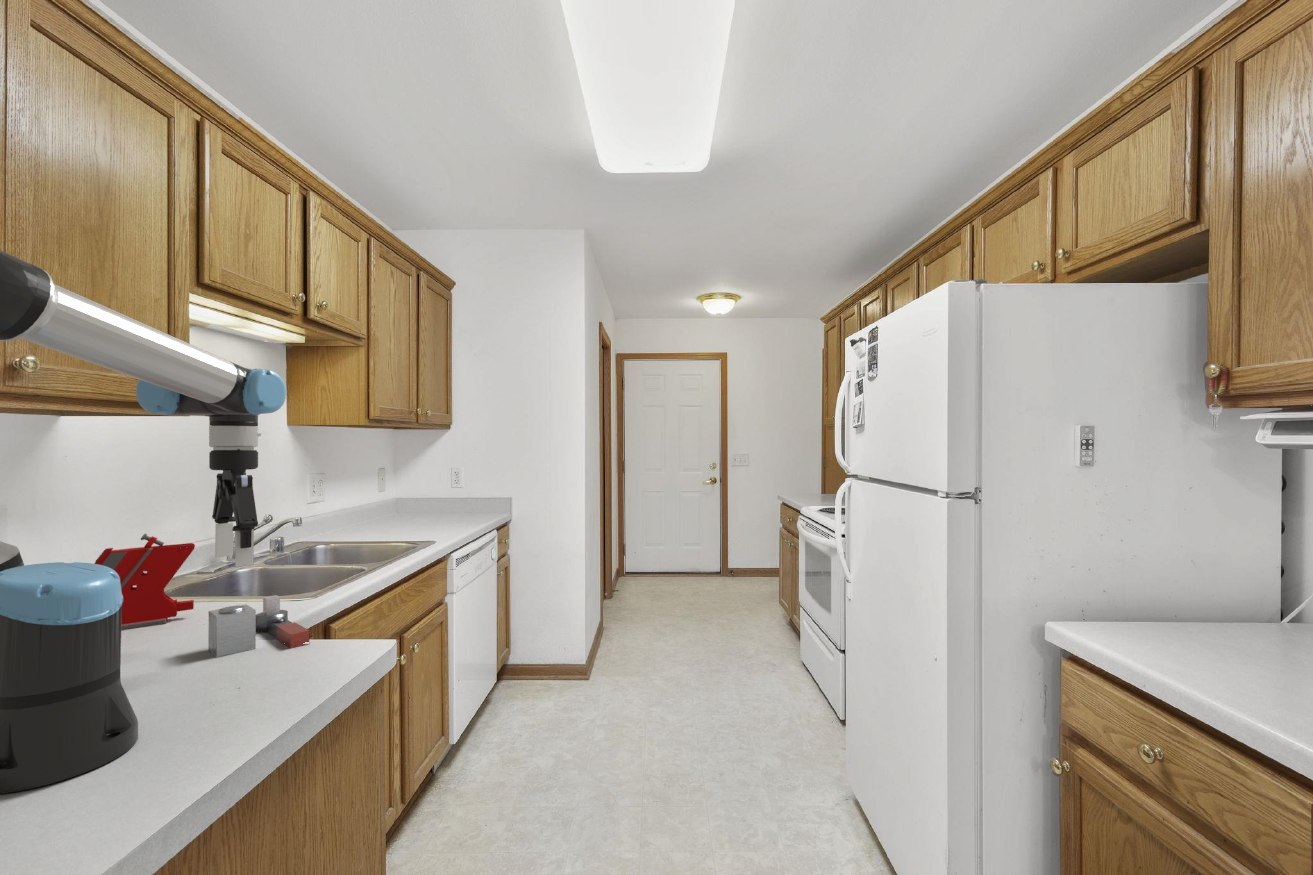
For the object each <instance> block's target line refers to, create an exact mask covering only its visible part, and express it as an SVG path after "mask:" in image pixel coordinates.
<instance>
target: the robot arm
mask: <svg viewBox="0 0 1313 875" xmlns="http://www.w3.org/2000/svg"><path fill="white" fill-rule="evenodd" d="M18 339H21V340H24V341H26V342H29V343H32V344H35V345H38V346H41V347H44V348H47V349H50V350H53V351H56V352H59V353H60V354H61V353H62V354H65V355H67V356H70V357H74V358H76V359H79V360H82V361H84V362H87V363H90V364H93V365H96V366H99V367H101V368H105V369H108V370H111V371H113V372H116V373H120V374H123V375H126V376H128V377H131V378H134V379H137V380H138V381H137V384H136V387H135V389H136V395H135V396H136V400H137V402H138V404H139V405H140V406H141V408H142V409H143V410H145V411H146V412H147V413H150V414H154V415H155V414H158V415H164V416H189V417H191V416H192V417H195V416H196V417H208V420H209V421H208V422H209V425H208V446H209V447H210V448H212V450H210V452H208V453H209V454H208V455H209V456H208V457H209V462H208V463H209V464H208V466H209V467H208V468H209V470H211V471H222V473H217V474H216V486H215V488H216V489H215V495H214V501H213V502H214V503H213V509H212V516H211V517H212V520H214V523H215V543H214V544H215V551H214V552H215V554H214V555H215V556H214V557H215V558H224V557H231V556H234V568H238V567H241V568H242V567H246V566H247V567H248V566H253V565H254V554H255V553H254V551H255V550H254V542H255V541H254V533H255V532H254V531H255V530H254V529H255V528H256V527H258V525H259V522H258V515H257V509H256V501H255V495H254V494H255V493H254V484H253V483H254V482H253V479H254V477H253V475H252V474H247V473H246V471H247V470H256V469H257V468H258V467H259V451H258V450H257V449H255V448H257V447H258V446H259V445H258V444H259V437H261V436H262V432H260V431H259V416H260V415H262V414H265V415H266V414H272V413H276V412H277V411H279V410H280V409H281V408H282V407H283V406H284V405H285V401H286V398H287V397H286V396H287V387H286V384H285V381H284V379H283V378H282V377H281V376H280V375H279V374H278V373H277V372H276V371H273V370H270V369H262V368H256V367H255V368H253V369H252V368H249V367H244V366H241V365H239V364H237V363H234V362H232V361H230V360H227V359H225V358H224V357H220V356H218V355H216V354H214V353H211V352H210V351H207V350H204V349H202V348H200V347H198V346H196V345H194V344H191V343H188V342H186V341H184V340H182V339H180V338H178V337H175V336H173V335H171V334H169V333H166V332H164V331H161V330H159V329H158V328H155V327H153V326H150V325H148V324H146V323H143V322H141V321H139V320H136V319H134V318H132V317H130V316H128V315H126V314H123V313H120V312H119V311H117V310H114V309H112V308H109V307H108V306H105V305H103V304H101V303H99V302H96V301H93V300H91V299H89V298H87V297H85V296H82V295H80V294H78V293H76V292H73V291H71V290H69V289H68V288H67V289H66V288H65V287H62V286H61V285H57V284H56V283H54V281H53V278H52V276H51V275H50V274H49V272H47V271H46V270H45V269H42V268H41V267H38V266H36V265H34V264H31V263H30V262H27V261H25V260H23V259H21V258H19V257H16V256H14V255H12V254H9V253H7V252H6V251H3V250H0V341H1V342H10V341H11V342H12V341H14V340H18ZM234 523H235V525H234ZM23 560H24V559H23V558H22V555H21V551H20V549H19V548H18V546H16V545H13V544H10V543H7V542H3V541H1V540H0V794H8V792H9V793H15V792H20V791H27V790H31V789H36V788H40V787H42V786H47V785H50V784H51V785H52V784H54V783H55V784H56V783H57V782H61V781H65V780H68V779H70V778H72V777H78V776H79V775H82V774H84V773H87V772H89V771H92V770H94V769H97V768H99V767H102V766H103V765H106V764H108V763H109V762H111V761H113V760H115V759H117V758H119V757H121V756H122V755H123V754H125V753H126V752H128V751H129V750H131V748H133V746H134V745H136V743H137V741H138V739H139V720H138V717H137V715H136V713H135V711H134V709H133V706H132V704H131V702H130V700H129V697H128V696H127V693H126V692H125V689H124V687H123V685H122V682H121V679H122V678H121V662H122V660H121V659H122V658H121V657H122V655H121V654H122V652H121V650H122V648H121V647H122V630H121V618H122V602H123V595H122V591H121V584H120V578H119V575H118V574H117V572H116V571H114V570H113V569H111V568H109V567H106V566H103V565H98V564H94V563H91V562H81V561H79V562H78V561H75V562H74V561H73V562H59V561H58V562H43V563H33V564H25V563H24V561H23Z"/></svg>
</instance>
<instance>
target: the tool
mask: <svg viewBox="0 0 1313 875" xmlns="http://www.w3.org/2000/svg"><path fill="white" fill-rule="evenodd" d="M140 540H141V541H144V540H145V541H147V542H146V543H145V545H144V547H143V546H142V547H140V546H139V547H130V548H122V549H121V548H120V549H114V547H108V548H105V549H104V550H103V551H102V552H101V553H100V555H99V556H98V557H97V558H96V560H94V561H95V562H94V563H93V564H98V565H103V566H106V567H109V568H111V569H113V570H114V571H116V572H117V574H118V575H119V578H120V584H121V591H122V595H123V602H122V618H121V631H124V630H132V629H137V628H138V629H139V628H145V627H150V626H151V627H153V626H156V625H164V624H167V622H168V618H175V617H177V615H178V612H183V611H184V612H185V611H191V610H194V607H195V605H194V604H195V603H194V599H189V600H182V601H178V599H174V598H172V597H171V596H169V594H168V595H167V593H166V592H165V589H166V587H167V586H168V585H169V583H170V581H171V580H172V579H173V578H174V576H175V575H176V573H178V571H179V570H180V568H181V567H182V566H183V564H184V563H185V562H186V560H187V559H188V558H189V556H191V554H192V552H193V551H194V550H195V548H196V545H195V543H193V542H190V543H177V544H176V543H175V544H165V542H163V541H161V540H158V538H157V537H156V536H154V535H152V536H148V534H147V533H144V534H143V535H142V536H141V538H140ZM154 544H155V545H154ZM164 544H165V545H164Z"/></svg>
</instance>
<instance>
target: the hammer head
mask: <svg viewBox="0 0 1313 875" xmlns="http://www.w3.org/2000/svg"><path fill="white" fill-rule="evenodd" d="M256 633H257V632H256V609H255V608H253V607H251V606H250V605H248V604H242V605H231V606H230V605H229V606H225V607H222V608H219V609H218V608H217V609H214V610H208V635H207V636H208V645H207V647H208V651H209V652H210V653H211V654H212V655H213V656H214V657H215V658H220V657H224V656H229V655H234V654H238V653H241V652H243V653H244V652H247V651H250V650H256V643H257V642H256V641H257V638H256V635H257V634H256Z"/></svg>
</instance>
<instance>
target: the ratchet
mask: <svg viewBox="0 0 1313 875" xmlns="http://www.w3.org/2000/svg"><path fill="white" fill-rule="evenodd" d="M288 612H289V611H288V610H287V609H281V597H280V596H279V595H278V594H277V595H276V594H274V595H270V596H264V597H262V612H258V613H257V614H256V633H268V634H269V635H271V636H273V637H274V638H276V640H278V641H279V642H280V643H282V644H283V643H285V644H284V645H285V646H286V647H289V649H294V648H297V647H302V646H307V645H308V644H303V643H305V642H309V643H310V630H309V628H306V627H304V626H303V625H301V624H299V623H297V622H295V621H294V622H292V621H290V620H288V619H289V618H288V616H289V613H288Z"/></svg>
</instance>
